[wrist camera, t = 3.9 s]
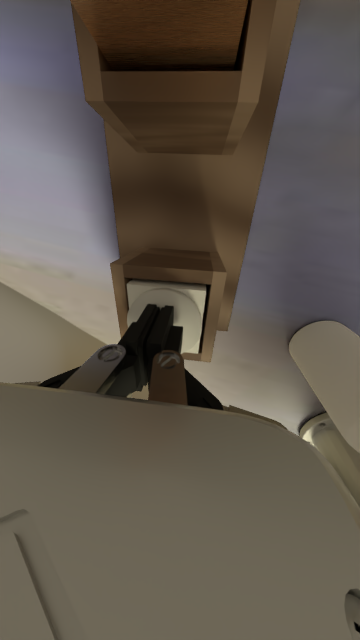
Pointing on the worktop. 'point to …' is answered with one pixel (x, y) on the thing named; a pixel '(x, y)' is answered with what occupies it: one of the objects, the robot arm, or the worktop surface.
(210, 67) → the copper plunger
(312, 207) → the worktop surface
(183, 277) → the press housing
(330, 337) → the can
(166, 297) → the pale plunger
